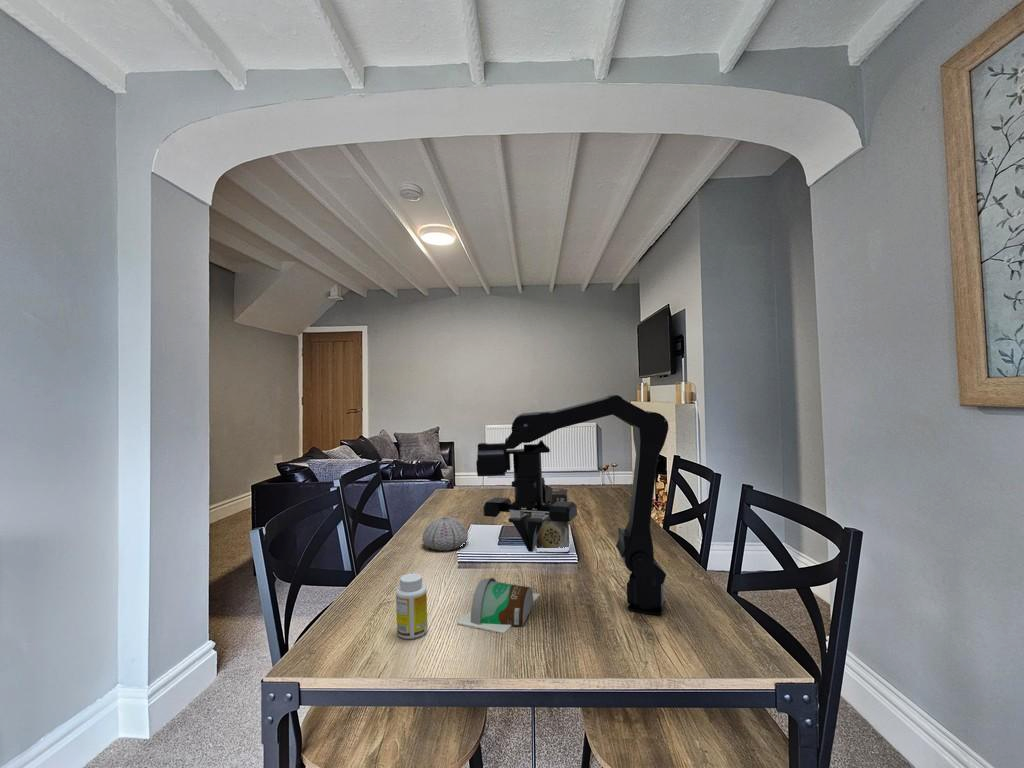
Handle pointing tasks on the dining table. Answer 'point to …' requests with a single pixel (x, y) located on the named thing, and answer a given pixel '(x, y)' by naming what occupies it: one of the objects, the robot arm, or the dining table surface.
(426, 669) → the dining table surface
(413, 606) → the supplement bottle
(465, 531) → the sea urchin shell
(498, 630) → the mat
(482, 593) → the food container
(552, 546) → the coffee box
